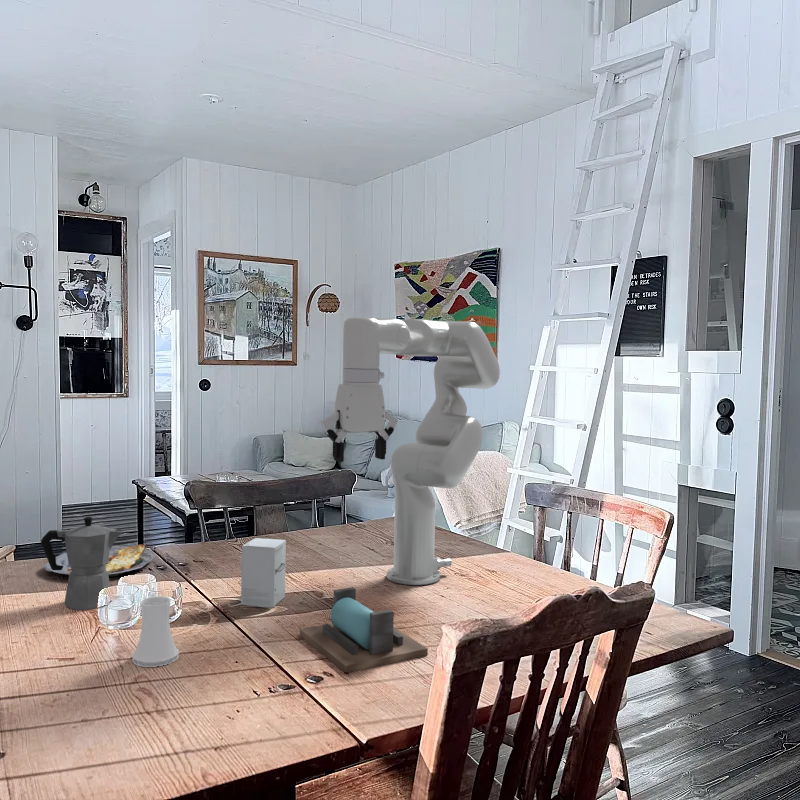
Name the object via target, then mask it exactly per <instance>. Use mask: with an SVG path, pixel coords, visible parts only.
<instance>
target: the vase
mask: <svg viewBox="0 0 800 800" xmlns="http://www.w3.org/2000/svg"><path fill="white" fill-rule="evenodd" d="M171 600H172V599H171V598H169V597H167V596H152V597H151V596H150V597H147V598H144V599H142V600H140V606H141V607H140V608H141V621H142V622H141V630H140V635H139V640H138V644H137V646H136V649H135V651H133V652H132V659H131V661H132V663H133V664H134V665H136V666H138V667H142V668H157V666H159V667H163V665H164V666H167V664H168V665H170V664H172V662H173V663H174V662H176V661H177V660H178V659H179V657H180V656H179V655H180V654H179V653H180V651H179V648H177V647H176V645H175V642H174V639H173V636H172V631H171V626H170V609H171V608H170V607H171Z"/></svg>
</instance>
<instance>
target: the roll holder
mask: <svg viewBox="0 0 800 800" xmlns="http://www.w3.org/2000/svg"><path fill="white" fill-rule="evenodd" d="M356 594H357V589H356V588H355V587H354V586H352V587H347V588H339V589H334V590H333V606H334V605H335V604H336V602H338V601H339V600H340V599H343V598H352V599H354V600H356V601H357V599H356V598H357V597H356V596H357V595H356ZM299 637H301V638H302V639H304V641H306V642H307V643H309V644H310V645H311V646H312V647H314V649H316V650H317V651H319V653H321V654H322V655H323V656H324V657H325V658H326V659H328V660H329V661H330V662H331V663H333V664H334V665H335V666H336V667H337V668H338V669H340V668H341V669H342V670H341V669H340V670H341V671H343V672H344V673H345V672H348V673H351V671H353V672H356V670H357V671H360V670H361V669H362V670H366V669H371V668H374V667H379V666H384V665H389V664H393V663H397V662H398V663H399V662H402V661H406V660H412V659H416V658H420V657H425V656H428V650H429V649H428V647H427V646H424V644H421V643H420V642H418V641H416V640H415V639H414V638H412V637H411V636H409V635H407V634H406V633H404V632H403V631H401V630H399V629H397V628H396V627H394V610H392V609H386V610H385V609H384V610H380V611H373V613H370V639H369V650H368V649H365V648H364V647H362V646H361V645H360V644H358V643H357V642H355V641H354V640H353V639H351V638H350V637H348V636H347V635H346V634H344V633H343V632H341V631H340V630H339V629H337V628H336V627H335V626H334V625H333V624H332V622H331V623H323V624H320V625H316V626H311V627H309V626H308V627H304V628H300V629H299ZM362 670H361V671H362Z"/></svg>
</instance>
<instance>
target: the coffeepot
mask: <svg viewBox="0 0 800 800" xmlns="http://www.w3.org/2000/svg"><path fill="white" fill-rule="evenodd" d="M83 520H84V525H82V526H77V527H73V528H70V529H59V530H57V529H53V530H48V532H46V533H45V535H44V536H43V537H42V538H41V540H40V544H41V547H42V549H43V551H44V554H45V557H46V558H47V562H49V564H50V566H51V569H52V570H62V568H63V565H62V566H61V565H57V564H56V557H57V556H56V555H55V553H54V549H53V545H52V543H51V541H53V540H55V541H56V540H58V541H64V544H65V550H66V551H65V552H66V553H67V557H68V563H69V564H70V565H71V567H70V570H71V571H70V572H69V573H70V574H68V580H67V586H66V591H65V598H64V606H65V607H66V608H68V609H69V610H73V611H92V610H97V609H98V608H97V603H98V596H99V592H100V591H101V590H102V589H104V588H108V587H111V583H110V578H109V576H108V572H107V571H106V563H108V560H109V553H110V549H111V547H112V546H114V545H115V542H116V541H117V539H118V538H119V536H120V535H122V534H123V531H122V530H121V529H118V528H110V527H108V526H102V525H92V521H93V516H86V517H84V518H83Z"/></svg>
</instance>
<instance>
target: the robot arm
mask: <svg viewBox="0 0 800 800" xmlns="http://www.w3.org/2000/svg"><path fill="white" fill-rule="evenodd" d="M342 329H343V331H342V332H343V338H342V347H343V348H342V383H339V384H338V385H337V391H336V395H335V402H334V411H333V412H334V413H332V414H331V415H329V416H327V417H325V418H323V419H322V420H321V421H320V424H321V426H322V429H323V431H324V434H325V435H326V436H327V437H328V438H329V440H330V441H331V442H332V458H333V460H334V461H335V462H338V463H343V462H344V459H345V458H344V456H345V455H344V454H345V444H344V442H342V441H343V439H344V438H345V437H346V435H347V434H359V433H360V434H362V433H363V434H364V433H373V434H375V436H376V437H377V438H376V439H375V440H374V442H375V443H374V458H376V459H377V460H385V459H386V454H387V441H388V440H390V436H391V435H392V434H393V433H394V431H395V428H396V426H397V424H398V418H397V417H395V416H393V415H391V414H390V413H387V412H386V409H385V407H386V406H385V405H386V404H385V397H384V391H383V386H382V384H380V381H381V379H385V373H384V372H382V371H381V369H380V354H387V355H396V356H406V357H439V358H438V359H437V360H436V362H435V364H434V368H433V379H434V380H433V381H434V390H435V399H434V402H433V403H432V405H431V407H430V409H429V410H428V412H427V413H426V414H425V416H424V418H423V419H422V420H421V423H420V424H419V426H418V428H417V430H416V433H415V441H416V443H415V442H409V443H403V444H400V445H398V446H397V447H396V448H395V449H394V451H393V453H392V455H391V457H390V458H391V459H390V468H391V475H392V480H393V482H392V483H393V487H394V488H393V489H394V517H393V519H394V520H393V521H394V524H393V526H394V528H393V530H394V531H393V567H392V568H389V569H388V570H387V571H386V578H387V579H388V580H389V581H391V582H393V583H395V584H396V583H397V584H401V585H405V586H406V585H408V586H423V585H425V586H426V585H431V584H434V583H436V582H438V581H440V580H441V572H440V571H439V570H440V569H441V568H445V567H451V566H452V559H451V558H450V557H448V558H442V559H441V557H436V556H435V544H436V541H435V539H436V538H435V537H436V502H435V498H434V495H433V493H432V490H431V489H430V487H433V488H439V489H454V488H456V487H457V486H459V485H460V484H461V482H463V479H464V478H465V476H466V475H467V473H468V471H469V469H470V467H471V466H472V464H473V462H474V461H475V459H476V456H477V455H478V453H479V452H480V448H481V445H482V441H483V428H482V424H481V423H480V421H479V420H478V419H477V418H475V417H474V416H471V415H467V412H468V407H467V404H466V401H465V399H464V398H463V396H462V395H461V393H460V390H459V388H460V389H477V390H479V389H482V390H483V389H484V390H485V389H486V390H488V389H490V388H494V387H495V386H496V385H497V383H498V382H499V379H500V374H501V369H500V364H499V361H498V358H497V356H496V354H495V352H494V349H493V347H492V345H491V343H490V341H489V339H488V337H487V335H486V334H485V332H484V331H483V329H482V328H481V326H480V325H479V324H477V323H476V322H474V321H469V320H467V321H463V320H462V321H449V320H447V321H445V320H444V321H443V320H431V319H422V318H412V319H411V318H407V319H398V318H395V317H394V318H393V317H392V318H391V317H389V318H387V317H386V318H384V317H383V318H382V317H378V318H377V317H376V318H375V317H362V316H361V317H359V316H358V317H354V316H353V317H348V318H346V319H345V320H344V323H343V328H342ZM386 422H387V426H386ZM332 424H333V428H334V430H335V431H334V430H333V429H332ZM385 426H386V427H385Z"/></svg>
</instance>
